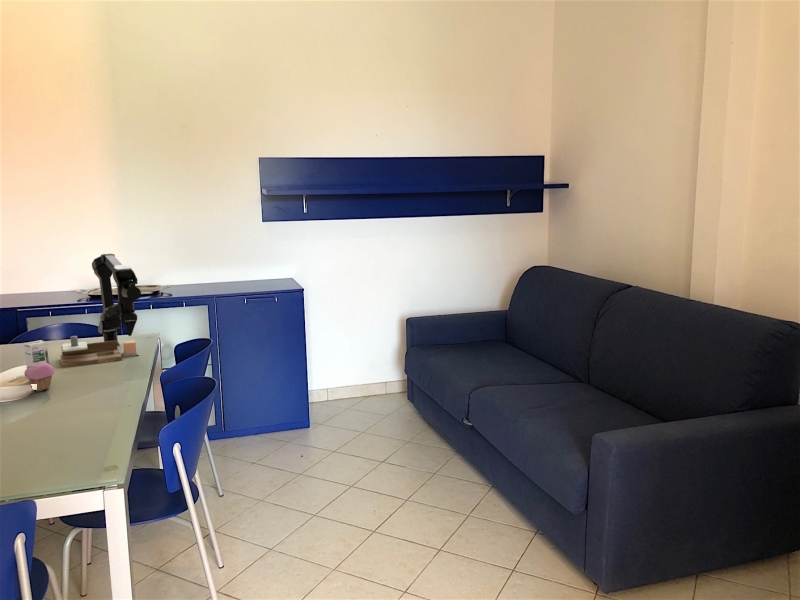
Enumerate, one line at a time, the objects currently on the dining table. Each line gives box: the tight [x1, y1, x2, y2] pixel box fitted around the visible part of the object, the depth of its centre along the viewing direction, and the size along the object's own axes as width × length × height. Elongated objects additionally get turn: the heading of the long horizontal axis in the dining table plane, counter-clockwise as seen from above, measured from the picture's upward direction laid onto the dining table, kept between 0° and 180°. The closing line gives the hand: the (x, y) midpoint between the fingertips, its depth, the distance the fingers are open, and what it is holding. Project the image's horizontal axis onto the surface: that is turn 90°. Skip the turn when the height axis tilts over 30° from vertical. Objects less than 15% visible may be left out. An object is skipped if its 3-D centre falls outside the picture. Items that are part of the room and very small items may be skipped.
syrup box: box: [23, 339, 50, 369], centre depth 221 cm, size 6×6×14 cm
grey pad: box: [121, 350, 140, 358], centre depth 257 cm, size 8×6×1 cm
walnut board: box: [60, 340, 123, 369], centre depth 250 cm, size 16×22×5 cm
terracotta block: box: [122, 339, 137, 355], centre depth 257 cm, size 4×4×5 cm
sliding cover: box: [61, 335, 88, 353], centre depth 248 cm, size 12×9×5 cm
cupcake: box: [24, 362, 55, 392], centre depth 209 cm, size 9×9×10 cm
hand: (128, 333), depth 256 cm, fingers open, 9 cm apart
